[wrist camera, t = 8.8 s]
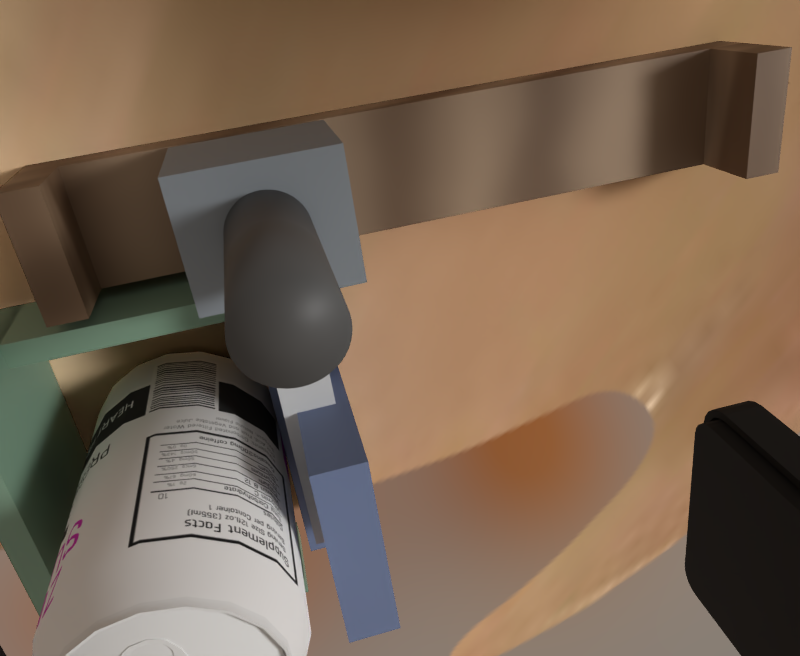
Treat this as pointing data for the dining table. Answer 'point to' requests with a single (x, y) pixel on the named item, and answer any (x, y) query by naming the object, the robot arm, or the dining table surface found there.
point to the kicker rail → (423, 159)
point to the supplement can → (180, 524)
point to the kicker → (290, 323)
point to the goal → (65, 412)
